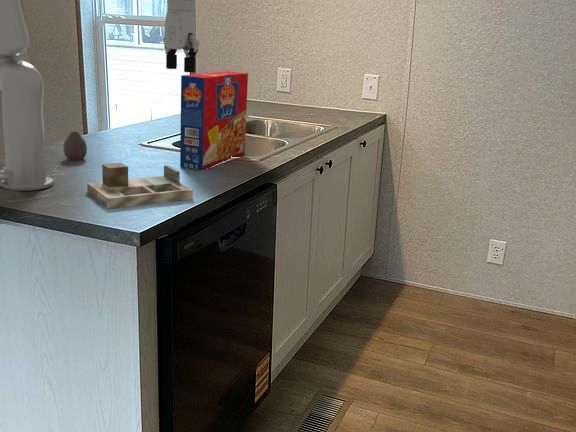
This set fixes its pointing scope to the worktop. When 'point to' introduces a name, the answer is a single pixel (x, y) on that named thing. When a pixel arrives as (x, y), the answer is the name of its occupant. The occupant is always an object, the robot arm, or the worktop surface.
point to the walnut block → (115, 174)
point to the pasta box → (212, 118)
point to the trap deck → (142, 190)
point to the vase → (75, 147)
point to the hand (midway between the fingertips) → (180, 70)
